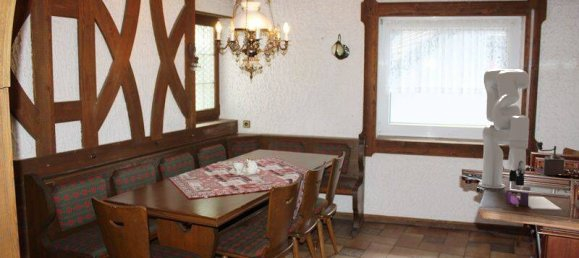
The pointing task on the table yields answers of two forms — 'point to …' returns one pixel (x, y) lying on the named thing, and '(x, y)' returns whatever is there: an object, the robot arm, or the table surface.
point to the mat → (540, 203)
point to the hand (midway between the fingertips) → (516, 183)
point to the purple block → (523, 199)
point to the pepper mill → (552, 162)
